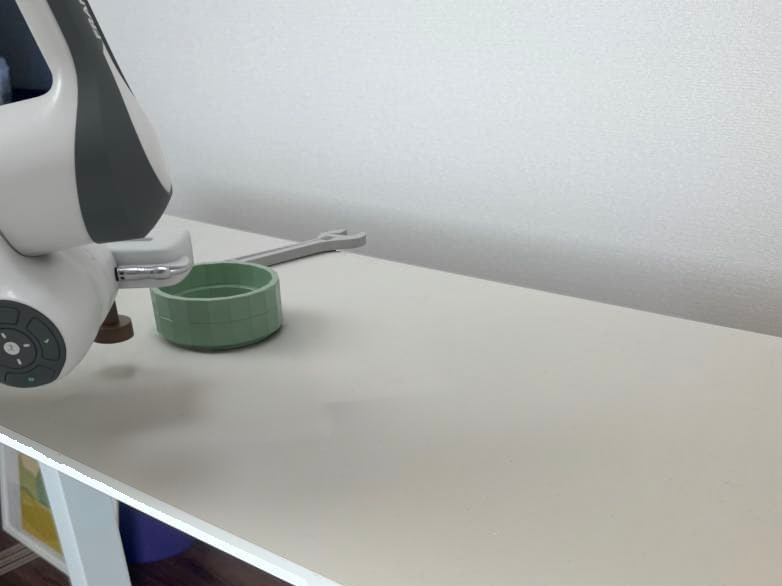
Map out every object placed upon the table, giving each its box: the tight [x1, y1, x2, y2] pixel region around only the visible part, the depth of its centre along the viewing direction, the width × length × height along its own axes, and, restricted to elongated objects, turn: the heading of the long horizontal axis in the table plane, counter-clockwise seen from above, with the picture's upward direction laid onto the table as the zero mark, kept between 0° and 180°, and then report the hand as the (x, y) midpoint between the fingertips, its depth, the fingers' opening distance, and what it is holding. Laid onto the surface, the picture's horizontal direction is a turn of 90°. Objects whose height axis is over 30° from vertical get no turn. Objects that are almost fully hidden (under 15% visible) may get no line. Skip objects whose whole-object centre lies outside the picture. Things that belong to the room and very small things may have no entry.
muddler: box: [93, 300, 135, 345], centre depth 81 cm, size 4×4×17 cm
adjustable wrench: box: [222, 228, 367, 267], centre depth 122 cm, size 25×6×2 cm, turn 127°
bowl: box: [148, 260, 284, 351], centre depth 96 cm, size 15×15×6 cm
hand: (93, 234), depth 80 cm, fingers closed on muddler, 2 cm apart
